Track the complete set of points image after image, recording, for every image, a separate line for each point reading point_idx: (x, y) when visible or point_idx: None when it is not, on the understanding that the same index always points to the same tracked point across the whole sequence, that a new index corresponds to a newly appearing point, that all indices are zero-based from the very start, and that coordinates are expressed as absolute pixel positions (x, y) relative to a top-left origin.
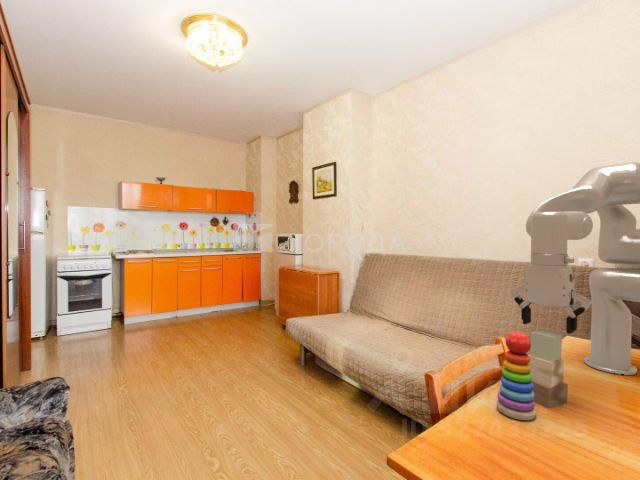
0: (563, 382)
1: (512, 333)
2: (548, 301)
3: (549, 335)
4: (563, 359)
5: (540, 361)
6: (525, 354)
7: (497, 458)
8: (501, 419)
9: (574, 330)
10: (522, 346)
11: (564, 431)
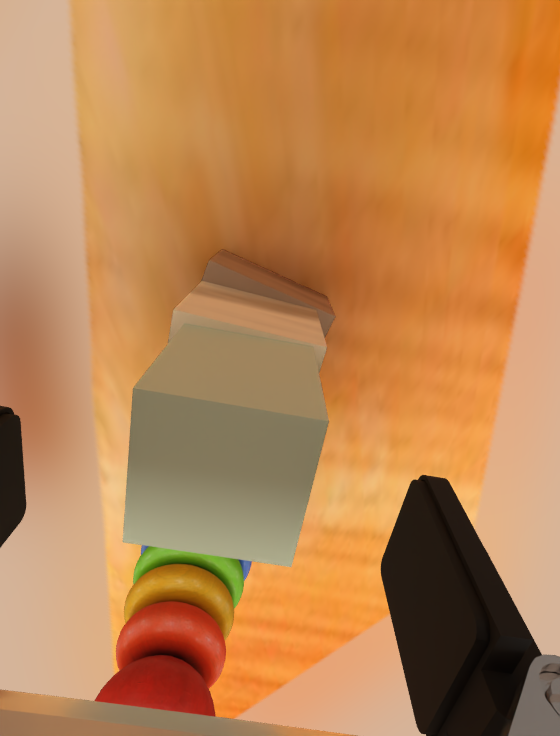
0: (317, 309)
1: None
2: None
3: (254, 534)
4: (325, 348)
5: None
6: (199, 669)
7: (248, 668)
8: None
9: (446, 485)
10: None
11: (338, 493)
